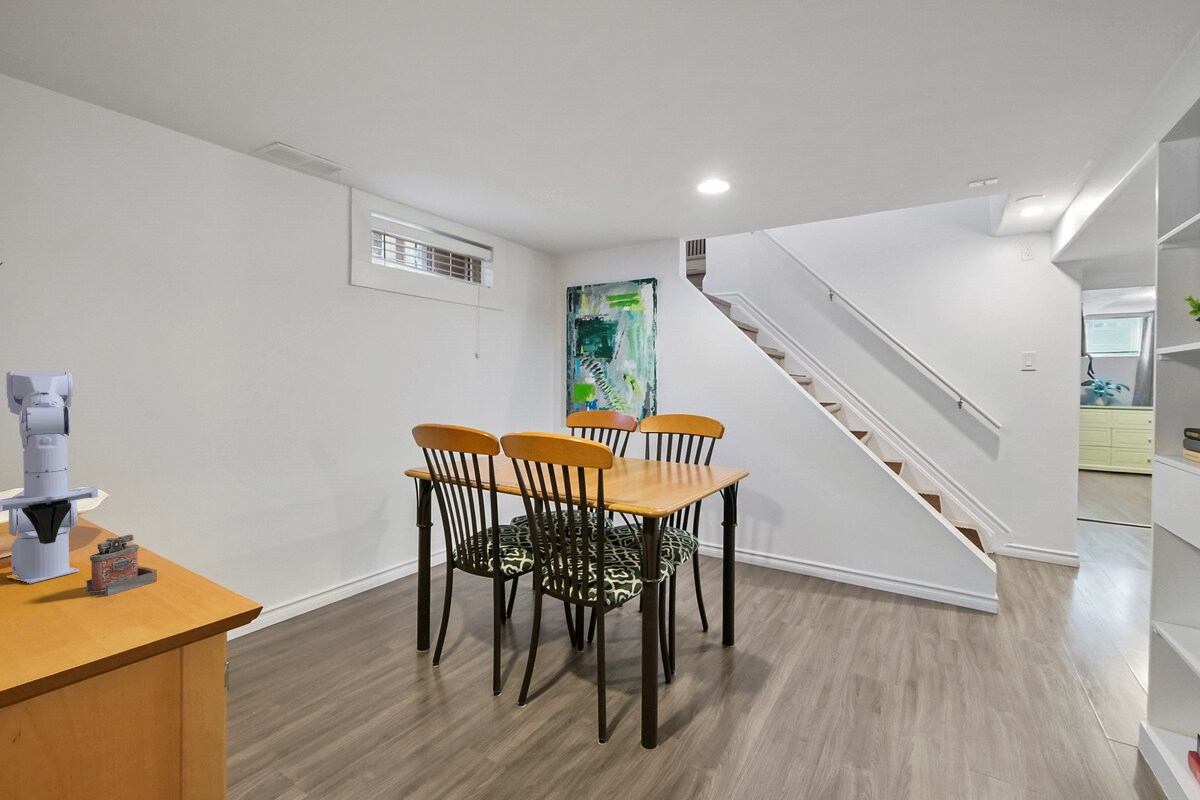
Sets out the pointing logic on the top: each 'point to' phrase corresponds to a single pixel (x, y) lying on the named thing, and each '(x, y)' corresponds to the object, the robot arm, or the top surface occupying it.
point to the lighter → (113, 563)
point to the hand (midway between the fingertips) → (47, 542)
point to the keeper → (129, 581)
